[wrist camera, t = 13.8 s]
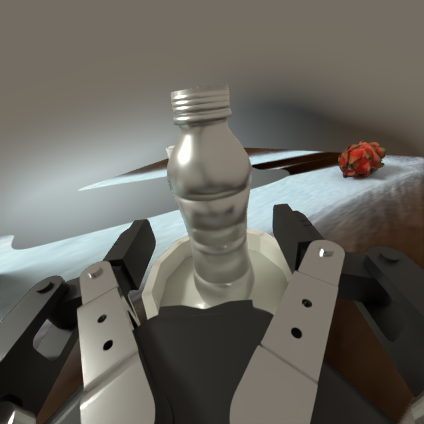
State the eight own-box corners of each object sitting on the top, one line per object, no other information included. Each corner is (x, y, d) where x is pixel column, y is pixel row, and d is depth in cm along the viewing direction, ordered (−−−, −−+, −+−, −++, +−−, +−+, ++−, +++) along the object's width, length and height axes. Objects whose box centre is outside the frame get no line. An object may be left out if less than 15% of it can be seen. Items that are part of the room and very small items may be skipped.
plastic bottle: (251, 324, 18) (246, 76, 8) (188, 310, 20) (121, 98, 10) (257, 273, 23) (259, 82, 13) (206, 265, 26) (174, 95, 15)
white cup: (187, 160, 80) (183, 143, 76) (184, 165, 74) (181, 147, 70) (171, 162, 80) (167, 145, 77) (168, 167, 75) (163, 149, 71)
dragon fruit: (370, 173, 49) (344, 194, 45) (345, 152, 52) (318, 170, 48) (403, 151, 42) (375, 173, 38) (372, 126, 44) (343, 145, 40)
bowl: (141, 280, 26) (132, 259, 24) (239, 233, 32) (237, 213, 30) (189, 445, 13) (176, 431, 11) (338, 311, 19) (347, 286, 17)
